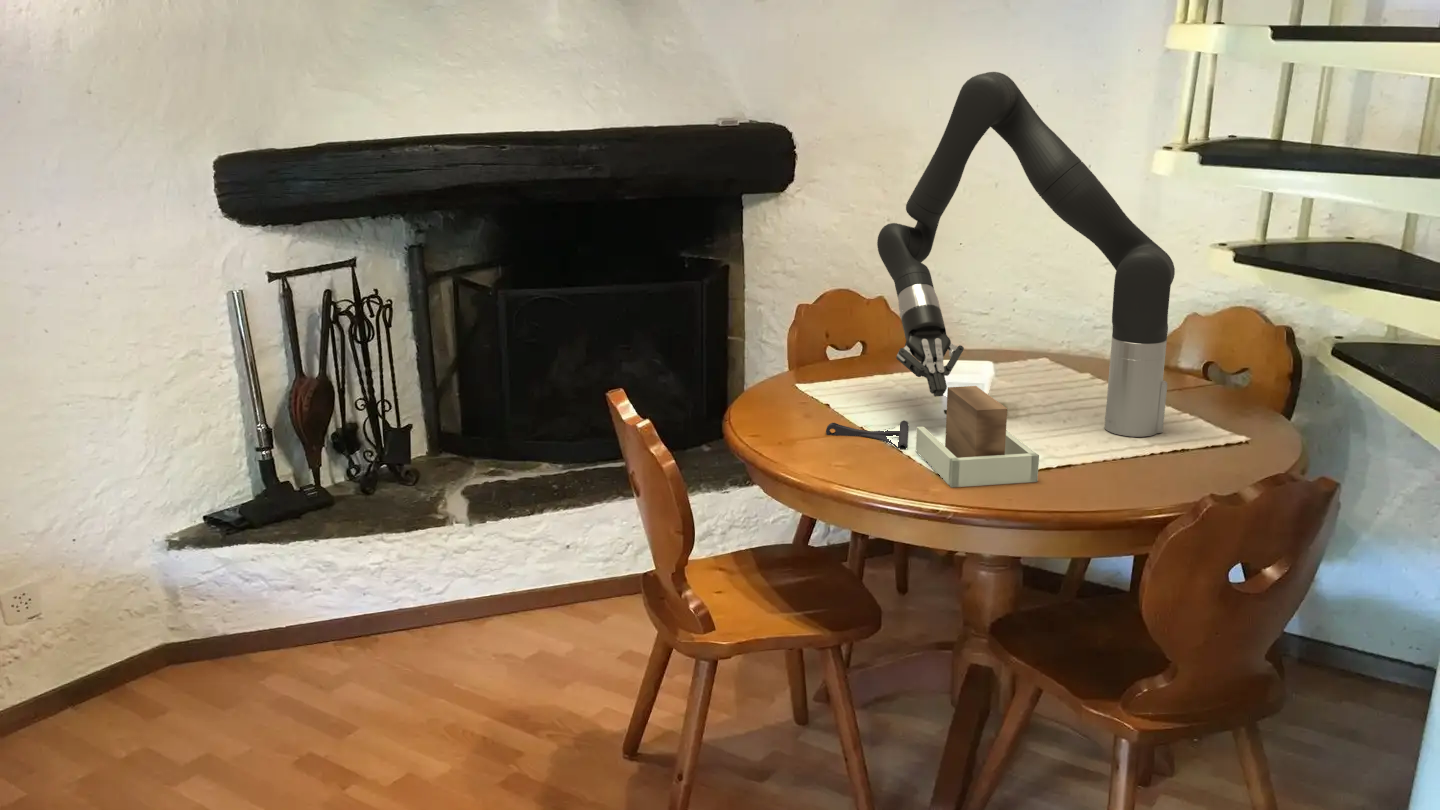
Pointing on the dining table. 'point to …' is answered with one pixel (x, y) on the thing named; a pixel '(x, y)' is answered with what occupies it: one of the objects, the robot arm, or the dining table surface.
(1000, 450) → the walnut board
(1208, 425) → the dining table surface
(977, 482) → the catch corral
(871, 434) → the dark grey t-shaped piece
